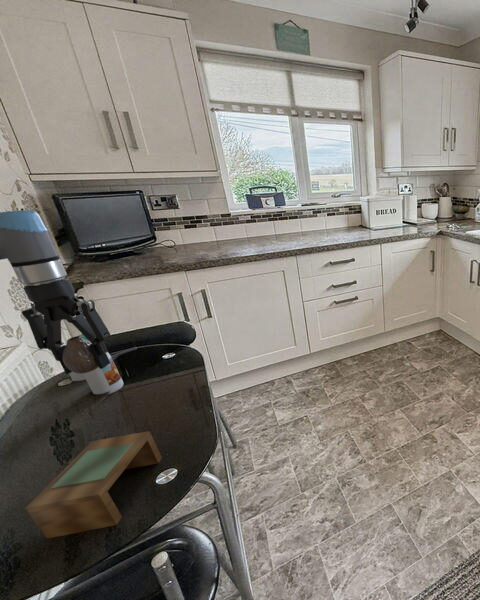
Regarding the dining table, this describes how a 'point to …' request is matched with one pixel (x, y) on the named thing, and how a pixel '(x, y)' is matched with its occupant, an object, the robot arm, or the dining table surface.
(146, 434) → the shelf
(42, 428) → the dining table surface
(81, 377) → the saucepan
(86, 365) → the vase
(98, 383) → the milk bottle
